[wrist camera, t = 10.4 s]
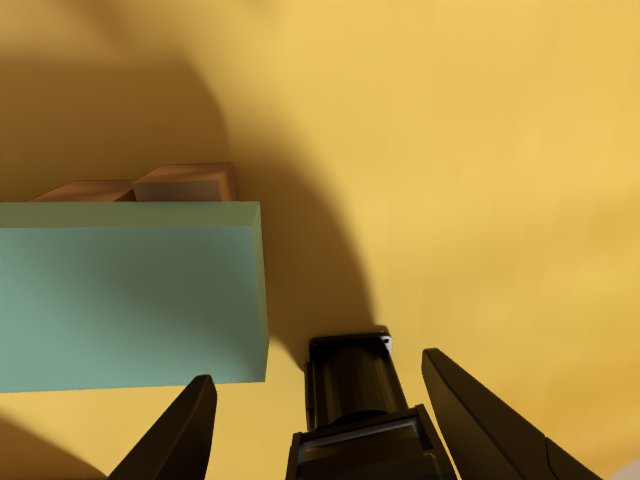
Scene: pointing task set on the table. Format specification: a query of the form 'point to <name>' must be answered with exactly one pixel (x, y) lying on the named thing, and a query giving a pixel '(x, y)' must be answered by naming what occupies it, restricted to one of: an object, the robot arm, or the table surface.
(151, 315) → the slab
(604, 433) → the table surface
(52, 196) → the block
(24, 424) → the table surface
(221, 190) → the block
